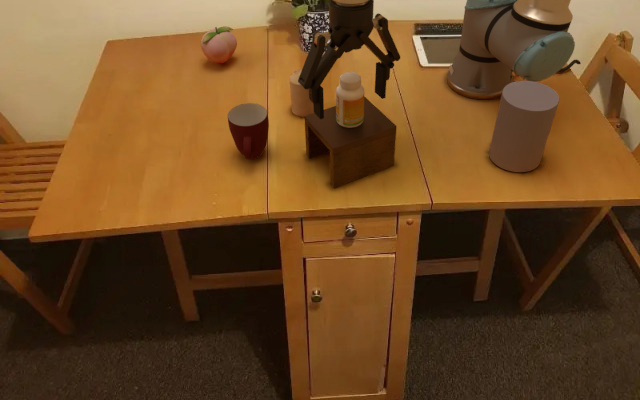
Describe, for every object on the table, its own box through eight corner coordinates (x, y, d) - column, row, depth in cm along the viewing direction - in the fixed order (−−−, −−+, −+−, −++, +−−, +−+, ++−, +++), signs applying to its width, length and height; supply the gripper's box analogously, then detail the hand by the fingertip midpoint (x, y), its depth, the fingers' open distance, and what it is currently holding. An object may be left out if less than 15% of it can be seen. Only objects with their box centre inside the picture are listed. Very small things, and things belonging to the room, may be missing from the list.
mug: (274, 171, 119) (270, 131, 112) (234, 175, 118) (227, 136, 111) (270, 139, 126) (266, 101, 119) (233, 143, 126) (226, 105, 119)
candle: (312, 118, 132) (311, 79, 125) (289, 115, 133) (286, 77, 126) (317, 104, 136) (316, 66, 129) (294, 102, 137) (292, 64, 130)
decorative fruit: (221, 50, 155) (215, 15, 148) (244, 59, 152) (239, 23, 145) (196, 66, 150) (189, 30, 143) (219, 75, 146) (213, 38, 139)
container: (484, 141, 124) (497, 80, 113) (533, 141, 123) (551, 80, 113) (493, 173, 116) (508, 111, 106) (545, 173, 116) (565, 111, 106)
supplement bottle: (369, 119, 114) (371, 76, 107) (351, 132, 111) (352, 88, 104) (348, 109, 116) (348, 66, 110) (330, 121, 114) (329, 78, 107)
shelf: (363, 135, 127) (364, 96, 120) (393, 165, 119) (396, 126, 112) (306, 155, 122) (304, 115, 115) (333, 188, 114) (333, 148, 107)
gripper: (401, -27, 103) (393, 78, 118) (273, 6, 95) (282, 114, 109) (426, -11, 98) (415, 96, 113) (293, 24, 90) (300, 134, 105)
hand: (350, 105), depth 111 cm, fingers open, 13 cm apart
